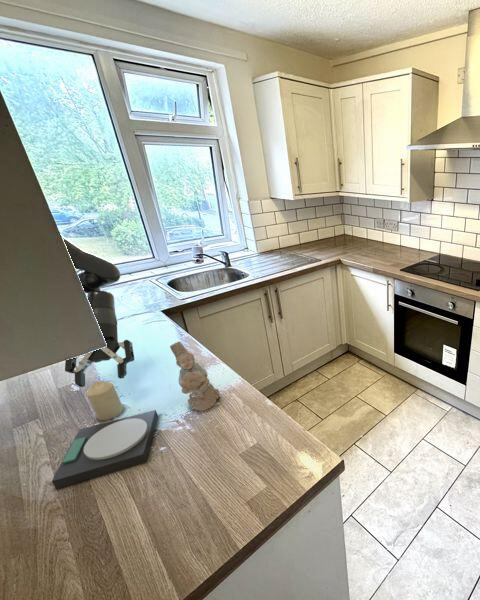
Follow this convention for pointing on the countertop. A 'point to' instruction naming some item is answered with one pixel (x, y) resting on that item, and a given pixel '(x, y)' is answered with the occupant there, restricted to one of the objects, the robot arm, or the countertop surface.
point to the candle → (104, 400)
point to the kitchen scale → (107, 448)
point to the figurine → (194, 379)
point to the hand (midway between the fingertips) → (101, 382)
